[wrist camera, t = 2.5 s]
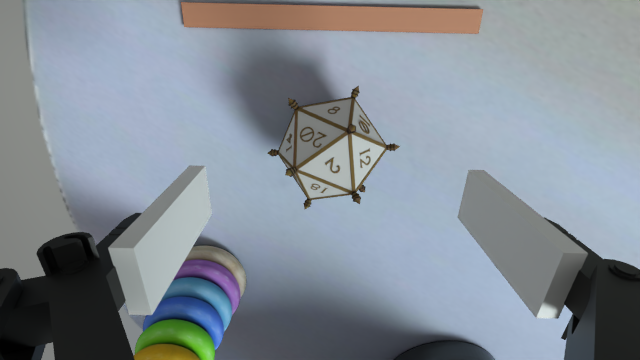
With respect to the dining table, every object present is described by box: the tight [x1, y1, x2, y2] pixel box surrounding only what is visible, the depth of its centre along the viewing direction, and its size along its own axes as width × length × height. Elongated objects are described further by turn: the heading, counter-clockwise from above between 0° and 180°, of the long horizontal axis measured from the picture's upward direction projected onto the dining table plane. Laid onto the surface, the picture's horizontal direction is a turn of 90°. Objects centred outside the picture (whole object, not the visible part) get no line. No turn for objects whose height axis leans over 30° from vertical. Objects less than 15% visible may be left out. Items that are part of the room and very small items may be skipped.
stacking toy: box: [134, 246, 246, 360], centre depth 24 cm, size 8×8×19 cm
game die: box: [268, 86, 400, 209], centre depth 23 cm, size 9×8×10 cm
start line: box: [181, 2, 483, 34], centre depth 23 cm, size 2×22×1 cm, turn 89°
